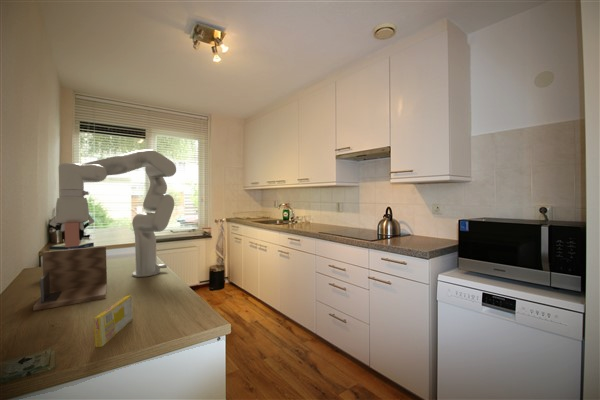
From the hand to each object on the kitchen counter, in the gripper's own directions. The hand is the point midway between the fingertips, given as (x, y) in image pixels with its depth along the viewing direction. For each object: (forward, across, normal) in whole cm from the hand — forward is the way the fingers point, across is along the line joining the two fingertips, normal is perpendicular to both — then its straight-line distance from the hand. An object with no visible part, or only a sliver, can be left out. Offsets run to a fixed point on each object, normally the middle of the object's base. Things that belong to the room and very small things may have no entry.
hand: (73, 239), depth 110 cm
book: (+2, 0, 0) cm, 2 cm away
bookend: (+22, +7, 0) cm, 23 cm away
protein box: (+24, +5, -44) cm, 50 cm away
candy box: (+23, -13, +43) cm, 51 cm away
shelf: (+23, 0, -1) cm, 23 cm away
